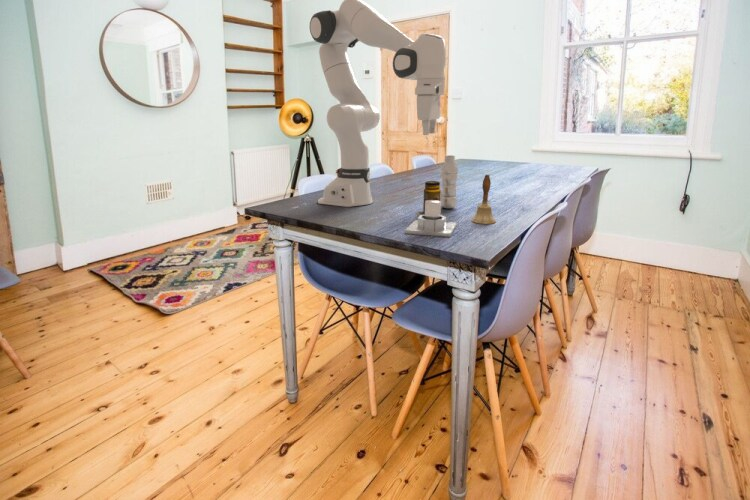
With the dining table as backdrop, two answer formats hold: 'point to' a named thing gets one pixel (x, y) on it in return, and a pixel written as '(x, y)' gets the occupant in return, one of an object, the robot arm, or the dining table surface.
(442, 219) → the duct flange
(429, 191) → the condiment
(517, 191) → the dining table surface
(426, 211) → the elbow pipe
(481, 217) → the hand bell
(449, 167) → the plastic bottle
